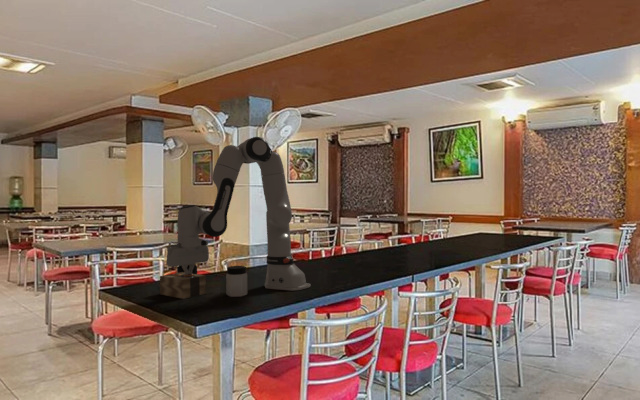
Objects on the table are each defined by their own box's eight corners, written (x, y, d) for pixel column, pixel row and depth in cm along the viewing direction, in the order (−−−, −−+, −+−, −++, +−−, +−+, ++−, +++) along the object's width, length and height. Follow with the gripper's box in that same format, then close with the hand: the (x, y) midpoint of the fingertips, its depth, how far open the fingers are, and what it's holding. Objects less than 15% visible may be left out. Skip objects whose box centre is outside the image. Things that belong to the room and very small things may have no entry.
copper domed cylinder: (195, 291, 202) (195, 274, 202) (188, 293, 199) (187, 275, 199) (189, 290, 205) (189, 273, 205) (181, 292, 201) (181, 274, 201)
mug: (181, 288, 216) (181, 269, 216) (174, 284, 226) (174, 265, 226) (201, 286, 221) (201, 267, 221) (194, 282, 231) (193, 264, 231)
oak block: (205, 293, 204) (205, 275, 204) (183, 298, 195) (183, 279, 194) (182, 289, 214) (182, 272, 213) (160, 294, 204) (159, 276, 204)
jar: (247, 292, 206) (247, 265, 206) (246, 296, 198) (246, 268, 198) (227, 293, 205) (227, 265, 205) (225, 297, 197) (225, 268, 197)
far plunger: (184, 291, 207) (183, 274, 207) (176, 292, 203) (176, 275, 203) (178, 290, 209) (177, 273, 209) (170, 291, 206) (170, 274, 206)
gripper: (172, 245, 191) (172, 278, 191) (211, 241, 208) (211, 272, 208) (163, 244, 195) (163, 277, 195) (201, 240, 211) (201, 270, 212)
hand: (188, 274), depth 202 cm, fingers closed, pressing on copper domed cylinder
